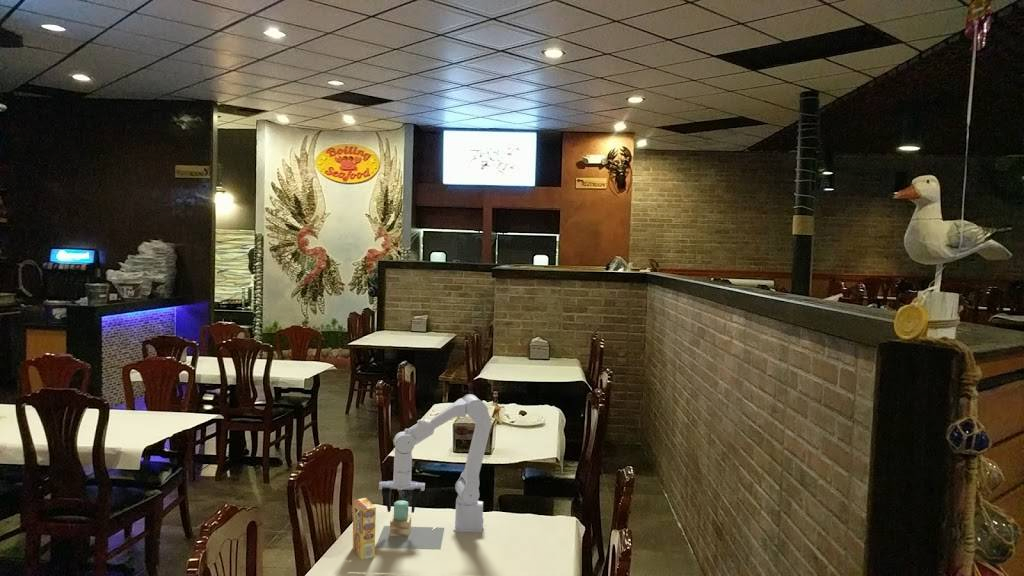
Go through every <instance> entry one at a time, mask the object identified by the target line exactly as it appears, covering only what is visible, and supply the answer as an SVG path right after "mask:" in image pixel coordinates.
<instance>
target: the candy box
mask: <svg viewBox="0 0 1024 576" xmlns="http://www.w3.org/2000/svg"><path fill="white" fill-rule="evenodd" d="M352 509H353V511H352V514H353V515H352V524H353V525H352V550H353V551H354V552H355V553H356V554H357V556H358V557H359V558H360V559H361V561H362V560H363V561H364V560H367V559H372V558H375V556H376V555H375V553H376V552H375V551H376V550H375V549H376V548H375V547H376V519H377V517H376V514H377V512H376V509H377V507H376V506H375V504H373V503H372V502H370V500H369V499H367V497H362V498H358V499H354V500H353V507H352Z"/></svg>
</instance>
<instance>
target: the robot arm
mask: <svg viewBox="0 0 1024 576" xmlns="http://www.w3.org/2000/svg"><path fill="white" fill-rule="evenodd" d="M467 416H468V417H469V418H471V420H472V421H473V423H474V424H475V425H474V426H475V427H474V430H473V434H472V438H471V442H470V446H469V450H468V454H467V458H466V460H465V464H464V465H465V466H464V469H463V471H462V472H461V473H460V476H459V478H458V480H457V481H456V482H455V484H454V486H455V487H454V489H455V492H456V493H457V497H456V499H455V513H454V514H455V516H454V518H455V519H454V521H453V529H452V531H453V532H465V533H466V532H467V533H468V532H469V533H472V532H473V533H482V532H483V524H484V517H483V516H484V501H482V500H479V499H480V494H481V493H480V489H479V488H480V472H481V468H482V464H483V459H484V456H485V453H486V449H487V444H488V441H489V437H490V432H491V428H492V420H491V416H490V414H489V408H488V407H487V405H486V404H485V403H484V402H483V401H482V400H481V399H479V398H478V397H477V396H476V395H475V394H471V393H469V394H468V393H467V394H465V395H464V396H463V397H461V398H458V399H457V400H456V401H454V402H453V403H452V404H450V405H449V406H448V407H446V408H445V409H444V410H442V411H440V412H439V413H437V414H436V415H434V416H433V417H432V418H430V419H427V418H424V419H421V418H420V419H418V420H416V422H417V423H415V424H414V425H412V426H411V427H409V428H405V429H404V430H403V431H400V432H398V433H396V434H395V436H394V438H393V440H392V441H393V445H394V446H395V448H394V455H393V477H392V478H393V479H392V480H387V481H379V482H378V490H382V491H381V494H382V497H383V500H384V501H385V505H386V510H387V513H390V512H391V509H392V490H399V491H401V490H407V491H408V490H410V491H411V490H412V491H411V492H412V493H411V494H412V496H411V497H412V498H411V501H412V503H411V513H414V512H415V509H416V504H417V501H418V499H419V497H420V495H421V492H424V491H425V487H426V483H425V482H418V481H414V480H413V481H412V470H413V469H412V467H413V466H412V465H413V454H412V453H413V452H412V451H413V450H414V448H415V446H416V445H418V444H420V443H421V442H423V441H424V440H426V439H428V438H429V437H430V436H432V435H433V434H434V432H435V429H437V428H439V427H441V426H442V425H444V424H445V423H447V422H449V421H451V420H453V419H454V418H455V419H456V418H467Z"/></svg>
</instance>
